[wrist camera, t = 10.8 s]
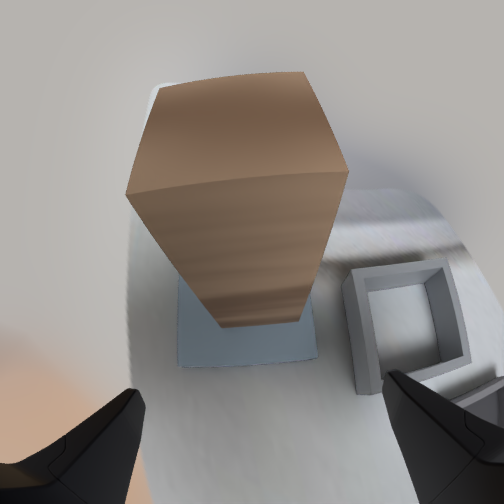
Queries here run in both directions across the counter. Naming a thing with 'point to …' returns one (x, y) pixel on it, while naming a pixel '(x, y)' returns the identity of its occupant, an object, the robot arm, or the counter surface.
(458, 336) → the sleeve
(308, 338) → the pad
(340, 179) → the walnut block
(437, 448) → the robot arm
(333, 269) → the counter surface
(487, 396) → the tray
